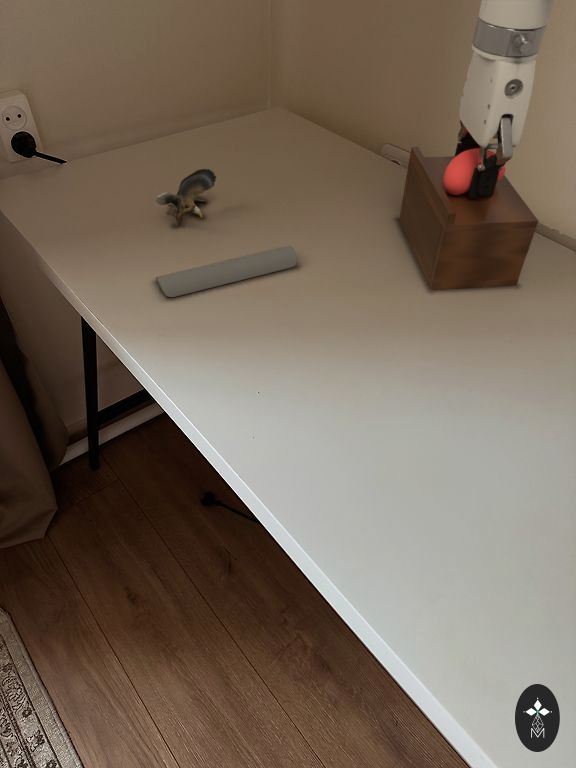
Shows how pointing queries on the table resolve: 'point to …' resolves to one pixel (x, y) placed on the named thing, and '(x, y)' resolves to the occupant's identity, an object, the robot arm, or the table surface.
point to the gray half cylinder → (227, 271)
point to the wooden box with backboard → (464, 228)
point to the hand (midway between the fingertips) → (471, 182)
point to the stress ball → (464, 171)
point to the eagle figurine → (188, 194)
